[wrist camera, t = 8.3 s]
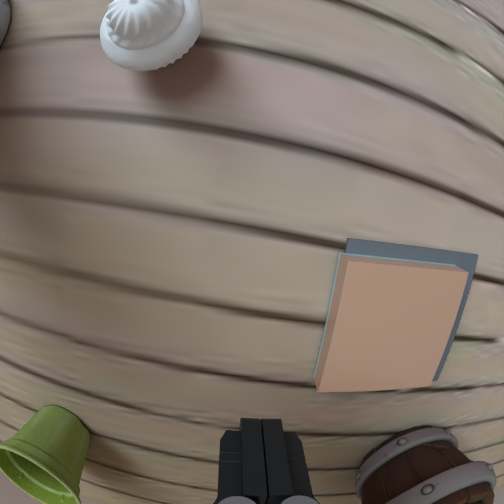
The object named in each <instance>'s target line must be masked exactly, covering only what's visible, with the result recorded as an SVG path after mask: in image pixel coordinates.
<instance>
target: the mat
mask: <svg viewBox="0 0 504 504" xmlns="http://www.w3.org/2000/svg"><path fill="white" fill-rule="evenodd" d="M345 253H348V254H358V255H368V256H377V257H387V258H397V259H406V260H415V261H425V262H434V263H443V264H453V265H456V266H458V267H460V268H461V269H463V270H465V271H467V272H469V273H468V277H467V281H466V285H465V288H464V292H463V296H462V299H461V302H460V306H459V309H458V312H457V315H456V318H455V321H454V325H453V327H452V330H451V333H450V336H449V339H448V342H447V344H446V347H445V350H444V353H443V355H442V358H441V360H440V363H439V365H438V368H437V370H436V373H435V375H434V377H433V380H432V381H435V380H438V378H439V375H440V373H441V370H442V368H443V366H444V363H445V361H446V358H447V356H448V353H449V350H450V348H451V345H452V342H453V340H454V337H455V334H456V331H457V328H458V325H459V322H460V319H461V316H462V313H463V310H464V307H465V304H466V300H467V297H468V293H469V290H470V286H471V282H472V279H473V275H474V271H475V267H476V263H477V258H478V255H477V254H469V253H462V252H455V251H448V250H440V249H433V248H425V247H417V246H409V245H401V244H393V243H385V242H377V241H368V240H360V239H351V238H347V244H346V250H345Z"/></svg>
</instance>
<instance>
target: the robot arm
mask: <svg viewBox="0 0 504 504" xmlns="http://www.w3.org/2000/svg"><path fill="white" fill-rule="evenodd" d="M10 16H11V10H10V5H9V2H8V0H0V46H1V44H2V42H3V40H4V37H5V35H6V32H7V29H8V26H9V22H10ZM305 461H306V460H305V456H304V451H303V446H302V442H301V440H300V439H299V438H298V436H297V435H296V434H295V432H283V427H282V421H281V419H261V420H260V419H254V418H241V420H240V428H239V431H231V430H226V432H225V433H224V435H223V437H222V438H221V440H220V454H219V475H218V496H217V499H216V501H215V502H214V503H213V504H320V503H319V502H318V501H317V500H316V499H315V498H314V496H313V493H312V489H311V484H310V479H309V475H308V470H307V465H306V463H305Z"/></svg>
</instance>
